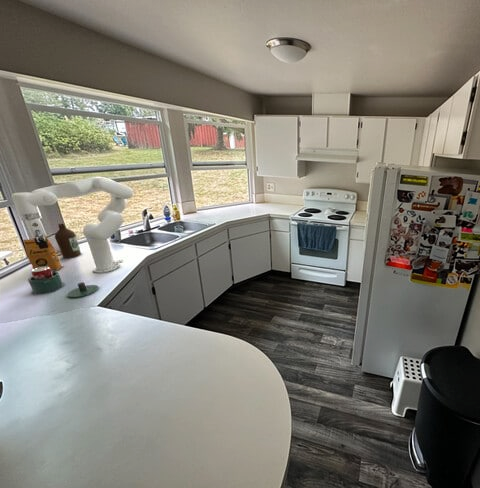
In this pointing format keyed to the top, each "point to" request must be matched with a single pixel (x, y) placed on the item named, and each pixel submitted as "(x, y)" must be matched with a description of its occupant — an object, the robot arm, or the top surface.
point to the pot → (46, 284)
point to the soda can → (42, 273)
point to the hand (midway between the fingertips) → (42, 246)
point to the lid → (83, 290)
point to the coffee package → (42, 255)
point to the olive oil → (67, 242)
